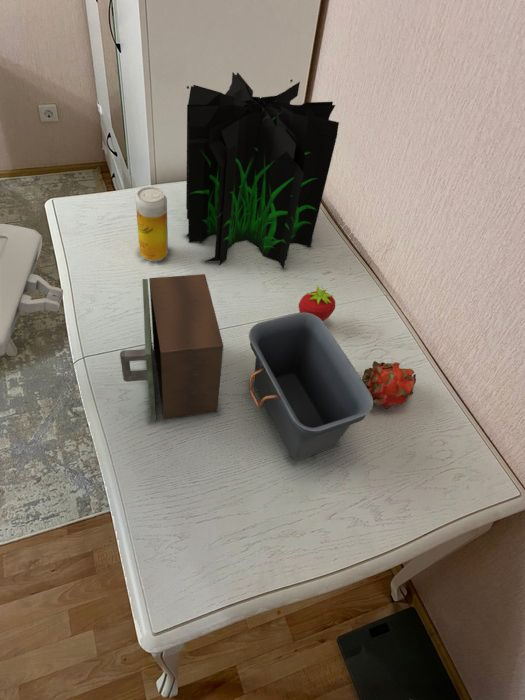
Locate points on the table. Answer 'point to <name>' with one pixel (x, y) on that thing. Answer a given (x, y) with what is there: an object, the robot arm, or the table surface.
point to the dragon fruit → (389, 383)
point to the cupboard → (185, 345)
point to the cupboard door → (142, 356)
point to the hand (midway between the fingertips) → (60, 300)
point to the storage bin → (306, 383)
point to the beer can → (152, 223)
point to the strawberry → (317, 304)
